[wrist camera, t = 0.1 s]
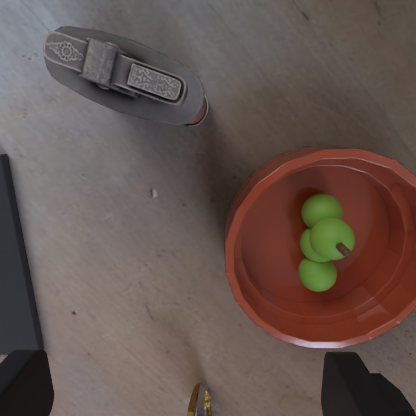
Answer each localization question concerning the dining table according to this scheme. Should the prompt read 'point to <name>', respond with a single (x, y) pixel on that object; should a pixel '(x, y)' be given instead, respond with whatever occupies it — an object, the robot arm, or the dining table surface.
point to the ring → (200, 401)
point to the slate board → (14, 276)
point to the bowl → (346, 267)
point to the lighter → (125, 76)
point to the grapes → (323, 241)
